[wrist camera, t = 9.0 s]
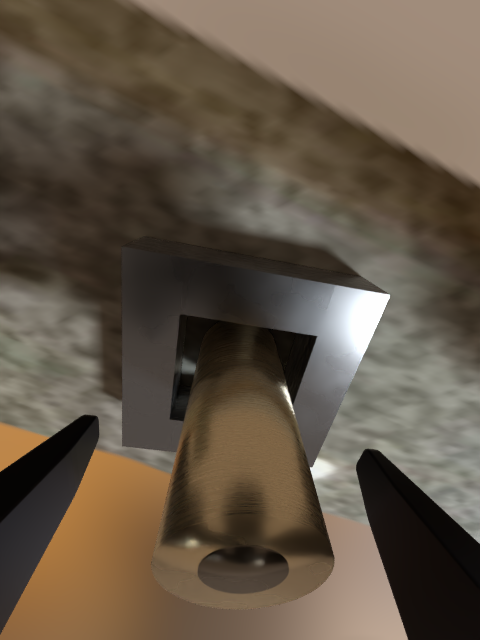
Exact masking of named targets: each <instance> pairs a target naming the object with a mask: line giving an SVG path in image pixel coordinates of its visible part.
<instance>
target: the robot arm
mask: <svg viewBox="0 0 480 640" xmlns="http://www.w3.org/2000/svg"><path fill="white" fill-rule="evenodd" d="M98 439H99V420H98V417H97V416H94V415H83V416H81V417H79V418H78V419H76V420H75V421H73V422H72V423H71V424H69V425H68V426H66V427H65V428H63V429H62V430H60V431H59V432H57V433H56V434H55V435H53V436H52V437H50V438H49V439H47V440H46V441H45V442H43V443H41V444H40V445H39V446H37V447H36V448H34V449H33V450H31V451H30V452H28V453H27V454H26V455H24V456H23V457H21V458H20V459H18V460H17V461H16V462H14V463H12V464H11V465H10V466H8V467H7V468H5V469H4V470H2V471H1V472H0V634H1V632H2V630H3V628H4V627H5V625H6V623H7V621H8V619H9V617H10V615H11V614H12V612H13V610H14V608H15V606H16V604H17V602H18V600H19V599H20V597H21V594H22V593H23V591H24V589H25V587H26V586H27V584H28V582H29V580H30V578H31V576H32V574H33V572H34V571H35V569H36V567H37V565H38V563H39V561H40V559H41V558H42V556H43V554H44V552H45V550H46V548H47V546H48V544H49V543H50V541H51V539H52V537H53V535H54V533H55V531H56V530H57V528H58V526H59V524H60V522H61V520H62V519H63V517H64V515H65V513H66V511H67V509H68V507H69V506H70V504H71V502H72V500H73V498H74V496H75V493H76V492H77V490H78V487H79V485H80V483H81V480H82V478H83V475H84V473H85V471H86V468H87V466H88V463H89V461H90V459H91V456H92V454H93V452H94V449H95V447H96V444H97V442H98ZM356 471H357V475H358V480H359V484H360V488H361V492H362V496H363V500H364V505H365V509H366V513H367V516H368V520H369V523H370V527H371V530H372V532H373V535H374V539H375V542H376V545H377V548H378V550H379V554H380V557H381V559H382V563H383V565H384V569H385V571H386V574H387V577H388V580H389V583H390V586H391V589H392V593H393V596H394V599H395V601H396V604H397V607H398V610H399V613H400V616H401V619H402V622H403V625H404V628H405V631H406V634H407V637H408V640H480V544H479V543H478V542H477V541H476V540H475V539H474V538H473V537H472V536H471V535H470V534H468V533H467V532H466V531H465V530H464V529H463V528H462V527H461V526H460V525H459V524H458V523H457V522H455V521H454V520H453V519H452V518H451V517H450V516H449V515H448V514H447V513H446V512H445V511H444V510H442V509H441V508H440V507H439V506H438V505H437V504H436V503H435V502H434V501H433V500H432V499H431V498H430V497H428V496H427V495H426V494H425V493H424V492H423V491H422V490H421V489H420V488H419V487H418V486H417V485H415V484H414V483H413V482H412V481H411V480H410V479H409V478H408V477H407V476H406V475H405V474H404V473H402V472H401V471H400V470H399V469H398V468H397V467H396V466H395V465H394V464H393V463H392V462H391V461H390V460H388V459H387V458H386V457H385V456H384V455H383V454H382V453H381V452H380V451H378V450H375V449H365V450H364V451H363V453H362V455H361V457H360V459H359V460H358V462H357V465H356Z"/></svg>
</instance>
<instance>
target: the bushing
mask: <svg viewBox="0 0 480 640" xmlns="http://www.w3.org/2000/svg"><path fill="white" fill-rule="evenodd" d="M151 565H152V572H153V575H154V577H155V579H156V580H157V582H158V583H159V584H160V585H161V586H162V587H163V588H164V589H166V590H167V591H169V592H170V593H171V594H173V595H175V596H177V597H179V598H181V599H183V600H186V601H188V602H192V603H195V604H198V605H203V606H208V607H214V608H222V609H255V608H263V607H270V606H274V605H280V604H283V603H287V602H290V601H292V600H296V599H298V598H300V597H303V596H305V595H307V594H309V593H310V592H312V591H314V590H315V589H317V588H318V587H319V586H320V585H322V584H323V583H324V582H325V581H326V580H327V578H328V577H329V576H330V574H331V572H332V570H333V567H334V555H333V551H332V547H331V543H330V540H329V536H328V533H327V529H326V525H325V522H324V518H323V514H322V511H321V507H320V503H319V500H318V496H317V493H316V489H315V485H314V482H313V478H312V474H311V471H310V467H309V463H308V460H307V456H306V452H305V449H304V445H303V442H302V438H301V434H300V431H299V427H298V423H297V420H296V416H295V412H294V409H293V405H292V402H291V398H290V394H289V391H288V387H287V383H286V380H285V376H284V372H283V369H282V365H281V362H280V358H279V354H278V351H277V347H276V343H275V340H274V338H273V336H272V334H271V332H270V331H269V330H268V329H267V328H264V327H258V326H252V325H245V324H239V323H233V322H227V321H220V322H218V323H217V324H215V325H214V326H212V327H211V328H210V329H209V330H208V331H207V333H206V334H205V336H204V338H203V340H202V343H201V348H200V352H199V357H198V361H197V365H196V370H195V374H194V378H193V383H192V387H191V392H190V396H189V400H188V405H187V409H186V413H185V418H184V422H183V427H182V431H181V435H180V440H179V444H178V448H177V453H176V457H175V462H174V466H173V470H172V475H171V479H170V483H169V488H168V492H167V497H166V501H165V505H164V510H163V514H162V519H161V523H160V527H159V532H158V537H157V541H156V545H155V549H154V554H153V558H152V562H151Z"/></svg>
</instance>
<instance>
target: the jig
mask: <svg viewBox="0 0 480 640" xmlns="http://www.w3.org/2000/svg"><path fill="white" fill-rule="evenodd" d="M389 297H390V294H388V293H387V292H385V291H383V290H382V289H380V288H379V287H377V286H376V285H374V284H372V283H371V282H369V281H368V280H366V279H365V278H363V277H360V276H355V275H350V274H344V273H339V272H333V271H328V270H323V269H317V268H312V267H307V266H301V265H296V264H290V263H285V262H280V261H274V260H269V259H263V258H258V257H253V256H247V255H242V254H237V253H231V252H226V251H220V250H215V249H210V248H204V247H199V246H193V245H188V244H183V243H177V242H172V241H167V240H161V239H156V238H150V237H145V236H144V237H142V238H139V239H137V240H135V241H133V242H130V243H128V244H126V245H124V246H122V446H126V447H135V448H144V449H153V450H162V451H171V452H177V448H178V444H179V440H180V435H181V431H182V427H183V422H184V418H185V413H186V409H187V405H188V400H189V396H190V392H191V387H188V386H180V377H181V368H182V359H183V350H184V341H185V332H186V323H187V315H189V316H196V317H202V318H208V319H214V320H221V321H227V322H233V323H239V324H245V325H252V326H258V327H264V328H270V329H277V330H283V331H289V332H295V333H296V336H295V340H294V343H293V346H292V349H291V352H290V356H289V359H288V362H287V365H286V368H285V371H284V376H285V380H286V383H287V387H288V391H289V394H290V398H291V402H292V405H293V409H294V412H295V416H296V420H297V423H298V427H299V431H300V434H301V438H302V442H303V445H304V449H305V452H306V456H307V460H308V463H309V467H313V464H314V462H315V460H316V458H317V456H318V453H319V451H320V449H321V447H322V445H323V442H324V440H325V438H326V436H327V434H328V431H329V429H330V427H331V425H332V423H333V420H334V418H335V416H336V414H337V412H338V409H339V407H340V405H341V403H342V401H343V398H344V396H345V394H346V392H347V390H348V387H349V385H350V383H351V381H352V379H353V376H354V374H355V372H356V370H357V368H358V365H359V363H360V361H361V359H362V357H363V354H364V352H365V350H366V348H367V346H368V343H369V341H370V339H371V337H372V335H373V332H374V330H375V328H376V326H377V324H378V321H379V319H380V317H381V315H382V313H383V310H384V308H385V306H386V304H387V302H388V299H389Z"/></svg>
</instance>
